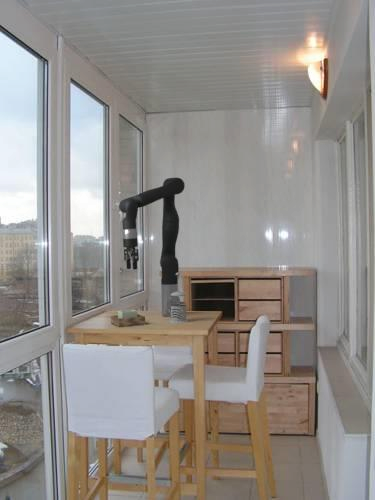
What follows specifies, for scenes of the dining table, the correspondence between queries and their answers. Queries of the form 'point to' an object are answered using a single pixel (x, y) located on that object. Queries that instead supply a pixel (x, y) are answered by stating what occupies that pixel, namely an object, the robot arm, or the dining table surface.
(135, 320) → the brown flat block
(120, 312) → the small crate
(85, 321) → the dining table surface
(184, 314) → the french press
